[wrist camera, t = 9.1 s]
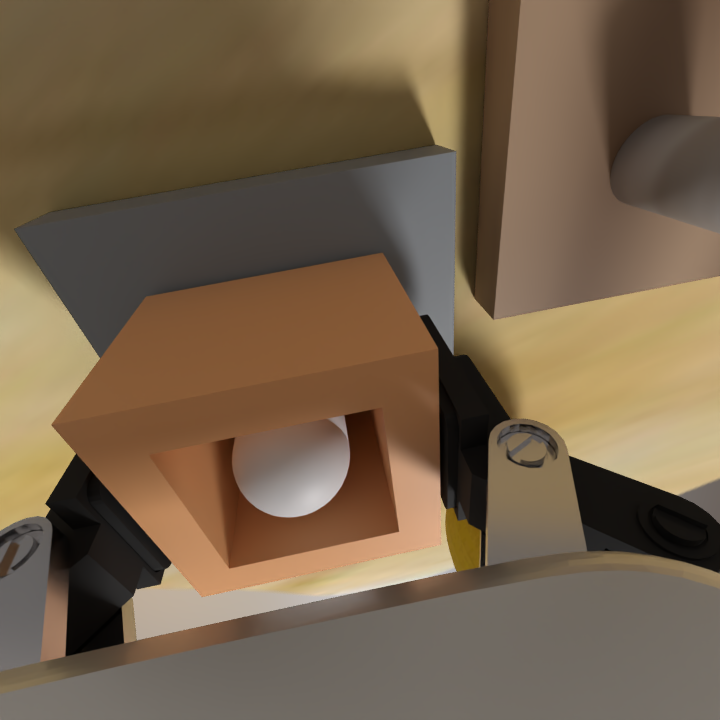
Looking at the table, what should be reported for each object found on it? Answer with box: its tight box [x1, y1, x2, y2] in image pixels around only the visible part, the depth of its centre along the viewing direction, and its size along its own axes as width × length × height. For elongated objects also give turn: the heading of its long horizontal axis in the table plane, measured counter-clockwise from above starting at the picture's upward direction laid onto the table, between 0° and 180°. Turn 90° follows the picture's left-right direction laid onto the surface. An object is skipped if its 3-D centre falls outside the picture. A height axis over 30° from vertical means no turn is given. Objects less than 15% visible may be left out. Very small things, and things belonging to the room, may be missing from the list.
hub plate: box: [14, 145, 456, 517], centre depth 10 cm, size 10×10×6 cm
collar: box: [52, 253, 441, 597], centre depth 9 cm, size 6×6×4 cm
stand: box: [475, 0, 720, 320], centre depth 9 cm, size 8×8×4 cm
